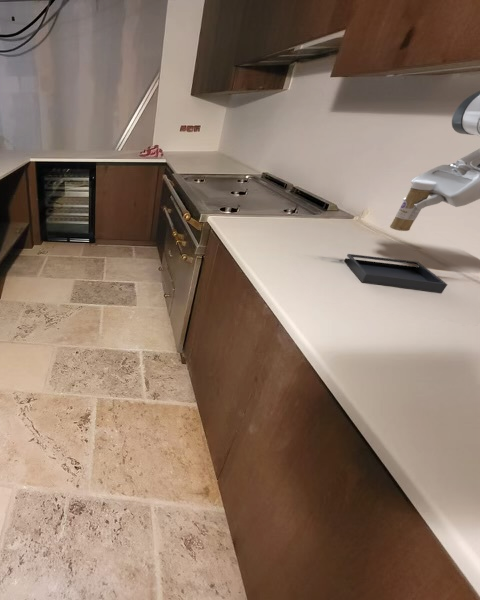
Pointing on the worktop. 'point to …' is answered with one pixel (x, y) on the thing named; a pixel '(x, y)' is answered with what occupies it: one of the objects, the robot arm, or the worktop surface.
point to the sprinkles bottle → (412, 204)
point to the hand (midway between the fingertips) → (410, 204)
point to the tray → (395, 274)
